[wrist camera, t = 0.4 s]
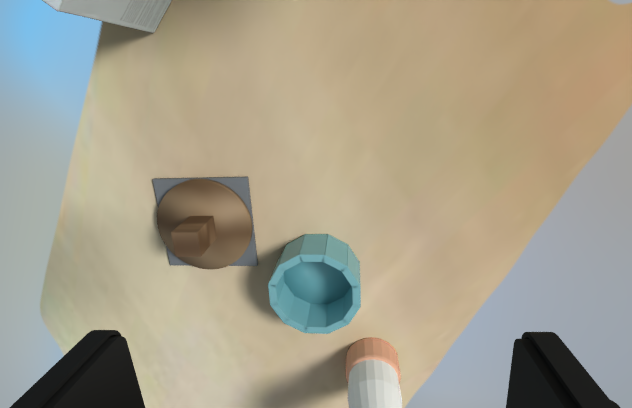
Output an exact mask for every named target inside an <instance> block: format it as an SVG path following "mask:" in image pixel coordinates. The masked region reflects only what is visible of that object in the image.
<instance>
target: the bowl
mask: <svg viewBox="0 0 632 408" xmlns="http://www.w3.org/2000/svg"><path fill="white" fill-rule="evenodd" d="M268 288H269V297H270V305H271V307H272V308H273V309H274V311H275V312H276V313H277V315H278V316H279V317H280V319H281V320H282V321H283V322H284V323H285V324H287V325H289V326H291V327H293V328H295V329H297V330H300V331H302V332H304V333H323V334H328V333H331V332H333V331H335V330H337V329H339V328H341V327H344V326H346V325H348V324H349V323H350V321H351V320H352V318H353V317H354V316H355V314H356V313H357V311H358V310H359V308H360V262H359V260H358V259H357V257H356V256H355V254H354V253H353V251H352V250H351V248H350V247H349V245H348V244H346V243H344V242H342V241H340V240H338V239H336V238H334V237H333V236H331V235H329V234H305V235H303V236H301V237H299V238H297V239H296V240H294V241H292V242H290V243H288V244H287V245H286V247H285V249H284V250H283V252H282V254H281V256H280V258H279V259H278V261H277V264H276V266H275V269H274V271H273V274H272V276H271V279H270V281H269V284H268Z"/></svg>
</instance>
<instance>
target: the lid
mask: <svg viewBox="0 0 632 408" xmlns="http://www.w3.org/2000/svg"><path fill="white" fill-rule="evenodd" d="M157 224H158V229H159V233H160V235H161V238H162V240H163V241H164V243H165V245H166V246H167V247H168V249H169V250H170V251H171V252H172V253H173V254H174V255H175V256H176V257H178V258H179V259H180V260H182V261H184V262H185V263H187V264H189V265H192V266H194V267H198V268H203V269H219V268H223V267H226V266H229V265H231V264H233V263H234V262H236V261H237V260H238V259H239V258H240V257H241V256H242V255H243V254H244V252H245V251H246V249H247V247H248V246H249V243H250V241H251V237H252V231H253V227H252V219H251V215H250V212H249V210H248V208H247V206H246V204H245V203H244V201H243V200H242V199H241V198H240V196H239V195H238V194H237V193H236V192H234V191H233V190H232V189H230V188H229V187H227V186H226V185H224V184H222V183H220V182H217V181H214V180H210V179H191V180H187V181H184V182H182V183H180V184H178V185H176V186H175V187H173V188H172V189H171V190H169V191H168V192H167V193H166V195H165V196H164V197H163V199H162V200H161V203H160V205H159V208H158V213H157Z"/></svg>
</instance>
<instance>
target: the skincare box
mask: <svg viewBox="0 0 632 408" xmlns="http://www.w3.org/2000/svg"><path fill="white" fill-rule="evenodd" d="M42 1H44V2H45V3H47V4H48V5H50V6H51V7H52V8H54V9H55V10H57V11H60V12H65V13H70V14H74V15H79V16H83V17H88V18H92V19H96V20H99V21H103V22H108V23H112V24H116V25H121V26H125V27H129V28H134V29H138V30H142V31H146V32H151V33H154V32H155V30H156V29H157V27H158V25H159V23H160V21H161V19H162V17H163V16H164V14H165V12H166V10H167V8H168V6H169V5H170V3H171V1H172V0H42Z"/></svg>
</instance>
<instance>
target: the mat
mask: <svg viewBox="0 0 632 408" xmlns="http://www.w3.org/2000/svg"><path fill="white" fill-rule="evenodd" d="M191 179H210V180H214V181H217V182H220V183H222V184H224V185H226V186H227V187H229V188H230V189H232V190H233V191H234V192H236V193H237V194H238V195H239V196H240V198H241V199H242V200H243V201H244V203H245V204H246V206H247V208H248V210H249V212H250V215H251V219H252V227H253V231H252V237H251V241H250V243H249V246H248V247H247V249H246V251H245V252H244V254H243V255H242V256H241V257H240V258H239V259H238V260H237V261H236V262H234V263H233V264H231V265H229V266H257V265H258V261H257V252H256V243H255V234H254V225H253V216H252V207H251V199H250V190H249V181H248V177H206V178H156V179H153V184H154V189H155V194H156V198H157V203H158V208H159V205H160V203H161V200H162V199H163V197H164V196H165V195H166V193H167V192H168V191H169V190H171V189H172V188H173V187H175V186H176V185H178V184H180V183H182V182H184V181H187V180H191ZM166 247H167V246H166ZM167 252H168V257H169V262H170V265H189V264H187V263H185V262H184V261H182V260H180V259H179V258H178V257H176V256H175V255H174V254H173V253H172V252H171V251H170V250H169V249H168V247H167Z"/></svg>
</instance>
